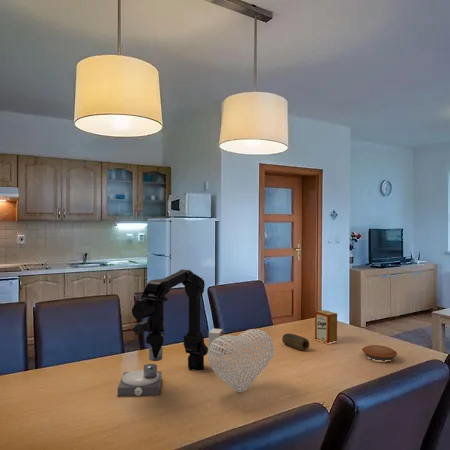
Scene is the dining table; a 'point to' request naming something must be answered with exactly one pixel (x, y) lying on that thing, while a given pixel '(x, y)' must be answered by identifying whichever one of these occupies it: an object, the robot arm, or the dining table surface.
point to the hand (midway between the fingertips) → (155, 355)
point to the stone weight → (296, 341)
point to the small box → (213, 335)
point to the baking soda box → (326, 326)
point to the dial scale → (139, 384)
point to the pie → (379, 352)
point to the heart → (233, 340)
